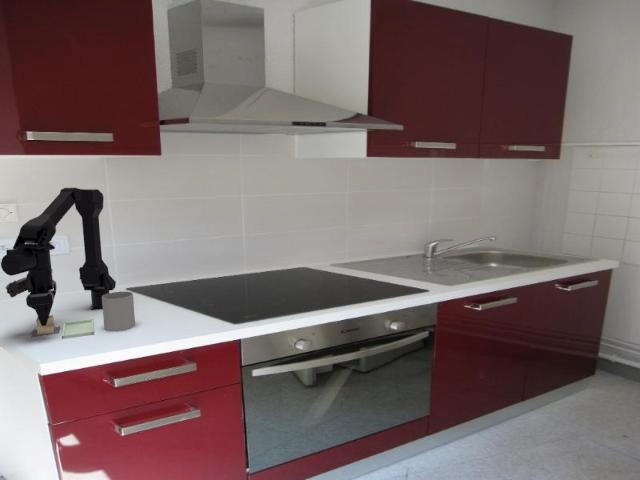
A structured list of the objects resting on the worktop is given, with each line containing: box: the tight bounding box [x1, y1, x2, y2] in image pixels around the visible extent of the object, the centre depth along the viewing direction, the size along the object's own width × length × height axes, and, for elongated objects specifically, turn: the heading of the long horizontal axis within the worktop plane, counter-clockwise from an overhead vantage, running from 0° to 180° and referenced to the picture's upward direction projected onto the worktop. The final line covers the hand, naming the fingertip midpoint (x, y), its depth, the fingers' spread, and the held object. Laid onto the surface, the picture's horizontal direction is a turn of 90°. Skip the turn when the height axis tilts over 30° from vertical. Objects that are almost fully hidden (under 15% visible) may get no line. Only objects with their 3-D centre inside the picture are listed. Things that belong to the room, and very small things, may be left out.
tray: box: [61, 318, 95, 340], centre depth 145 cm, size 13×8×1 cm, turn 25°
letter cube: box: [35, 314, 55, 335], centre depth 143 cm, size 4×4×4 cm
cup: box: [102, 291, 136, 333], centre depth 146 cm, size 8×8×10 cm
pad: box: [30, 325, 61, 338], centre depth 143 cm, size 7×7×1 cm
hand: (45, 321), depth 143 cm, fingers open, 9 cm apart
